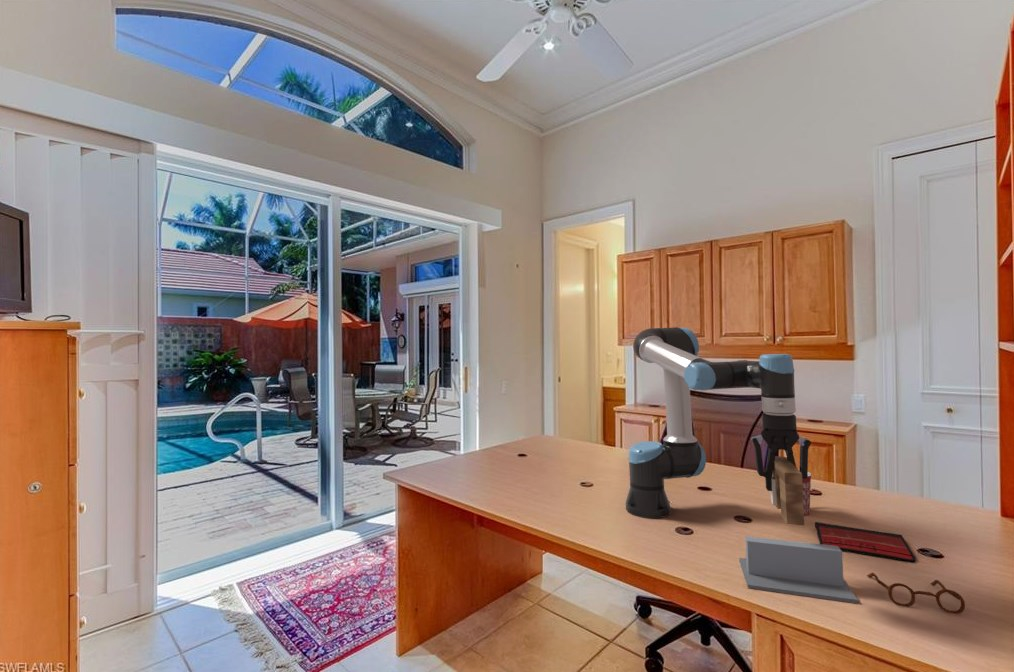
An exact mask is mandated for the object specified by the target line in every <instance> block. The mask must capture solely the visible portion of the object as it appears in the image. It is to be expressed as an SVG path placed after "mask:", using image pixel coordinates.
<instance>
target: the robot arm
mask: <svg viewBox="0 0 1014 672" xmlns="http://www.w3.org/2000/svg"><path fill="white" fill-rule="evenodd" d="M632 347H633V348H632V349H633V351H634V354H635V355H636V356H637V357H638V359H640V360H641V361H643V362H645V363H649V364H653V363H654V364H656V365H658V366H660V367H661V368H662V369H663V380H664V382H663V383H664V399H665V400H664V401H665V402H664V403H665V413H666V414H665V418H666V435H665V436H664V437H663V438H662V441H663V444H662V443H661V442H660V441H653V440H652V441H649V440H648V441H647V440H645V441H641V442H640V441H639V442H637V443H635V444H632V445H631V446H630V447H629V450H628V464H629V465H628V467H629V468H628V469H629V490H628V494H627V497H626V500H625V510H626V511H627V513H630V514H632V515H634V516H636V517H640V518H641V517H643V518H649V519H654V518H655V519H656V518H657V519H658V518H664V517H666V516H668V515H670V514H671V503H670V501H669V498H668V496H667V493H666V490H665V480H670V479H671V480H672V479H682V478H687V479H688V478H692V477H697V476H700V475H701V474H702V473H703V472H704V470H705V468H706V464H707V455H706V452H705V451H704V447H703V446H702V445H701V444H700V443H699V442H698V438H696V437H695V436H694V434H693V423H692V421H693V420H692V403H691V390H694V391H711V390H712V391H713V390H727V389H743V388H744V389H745V388H746V389H747V388H750V389H751V388H752V389H761V393H760V394H761V395H760V396H761V411H762V412H763V414H762V416H761V418H762V430H761V432H760V434H759V435H756V436H751V437H750V440H751V442H752V444H753V447H754V456H755V464H756V472H757V474H758V476H760V477H764V478H765V488H766V491H768V492H770V502H771V504H772V506H775V505H776V486H775V479H774V478H773V477H772V474H773V467H774V460H775V456H777V455H776V454H777V451H779V450H783V451H784V452H785V457H786V458H787V459H788V460H789V461H790V462H791V463H792V464H793V465H794V466H795V467H796V468H797V464H796V459H795V456H794V451H793V450H794V449H793V447H794V446H795V445H796V444H797V442H798V445H799V469H798V468H797V469H798V470H799V471H800V472H801V473H802V479H806V478H807V476H808V472H809V471H808V470H809V469H808V465H809V463H808V462H809V449H810V446H811V444H812V441H811V440H810V439H808V438H807V437H805V438H804V437H802V436H800V434H799V433H798V431H797V429H798V428H797V415H795V413H796V395H795V394H796V393H795V392H796V391H795V389H796V388H795V366H794V362H793V361H794V360H793V357H792V355H791V354H788V353H764V354H761V355H760V356H759V360H746V359H743V360H742V359H741V360H739V359H738V360H734V361H710V360H707V359H704V358H702V357H700V356H698V355H699V352H700V351H699V350H700V344H699V339H698V338H697V335H696V333H694V332H693V330H691V329H690V328H688V327H679V326H677V327H676V326H674V327H650V328H646V329H644V330H641V332H639V333H638V334H637V335H636V336H635V338H634V339H633V345H632ZM763 441H764V442H765V443H766V444H767V445H768V453H767V457H766V464H765V465H766V466H765V469H764V463H763V454H762V447H761V445H762V444H763Z"/></svg>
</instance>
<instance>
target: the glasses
mask: <svg viewBox="0 0 1014 672" xmlns="http://www.w3.org/2000/svg"><path fill="white" fill-rule="evenodd" d="M866 576H867V578H869V579H870V578H874V579H875V580H876V582H877V584H879V585H881V586H882V587H883V588H884V589H886V590H887V593H888V594H887V595H888V598H889V599H890V600H891V602H892V603H894V604H895V605H897V606H898V607H906V608H909V607H912V606H914V604H915V602H916V595H924V596H930V597H934V598H935V600H936V604H937V605H938V607H939V609H941V610H942V611H943V612H945V613H947V614H954V615H959V614H961V613H963V612H964V611H965V610H966V609H965V608H966V604H965V603H966V602H965V600H964V598H963V596H961V594H959V593H958V592H957V591H955V590H952V589H947V588H946V586H945V585H944V584H943V583H942V582H941V581H940V580H939V579H934V580H933V581H931V582H930V583H929V584H930V586H932V585H933V586H936V585H937V584H938V585H939V586H940V588H941V589H940V590H938V591H936V592H935V593H933V592H930V591H924V590H923V591H922V590H915V591H914V590H913V588H911V587H910V586H908V585H907V584H905V583H900V582H899V583H898V582H894V583H892V584H890V586H888V585H887V584H885V583H884V582H883V581H882V580H881V579H880V578H879V577H878V575H877V574H876V573H875V572H870V573H869V574H867V575H866ZM897 587H902V588H905V589H907V590H908V591H909V592H910V596H911V597H910V598H911V599H910V601H909V602H906V603H901V602H898V601H897V600H895V599H894V596H893V590H894V589H895V588H897ZM947 593H948V594H949V595H950V596H952V597H954V598H955V599H957V600H959V601H960V602H959V603H960V607H959V608H958V609H956V610H952V609H951V610H950V609H947V608H945V607H944V606H943V605H942V602H941V596H942V595H943V594H947Z"/></svg>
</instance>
